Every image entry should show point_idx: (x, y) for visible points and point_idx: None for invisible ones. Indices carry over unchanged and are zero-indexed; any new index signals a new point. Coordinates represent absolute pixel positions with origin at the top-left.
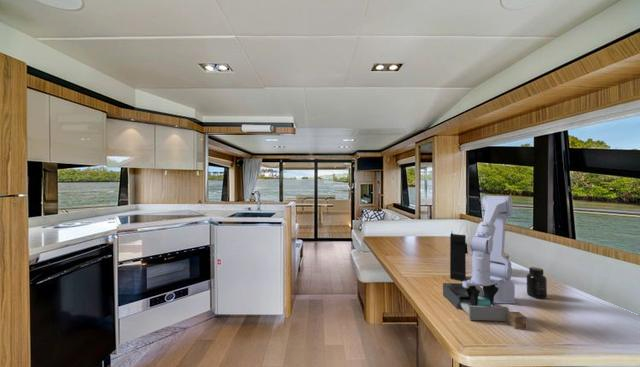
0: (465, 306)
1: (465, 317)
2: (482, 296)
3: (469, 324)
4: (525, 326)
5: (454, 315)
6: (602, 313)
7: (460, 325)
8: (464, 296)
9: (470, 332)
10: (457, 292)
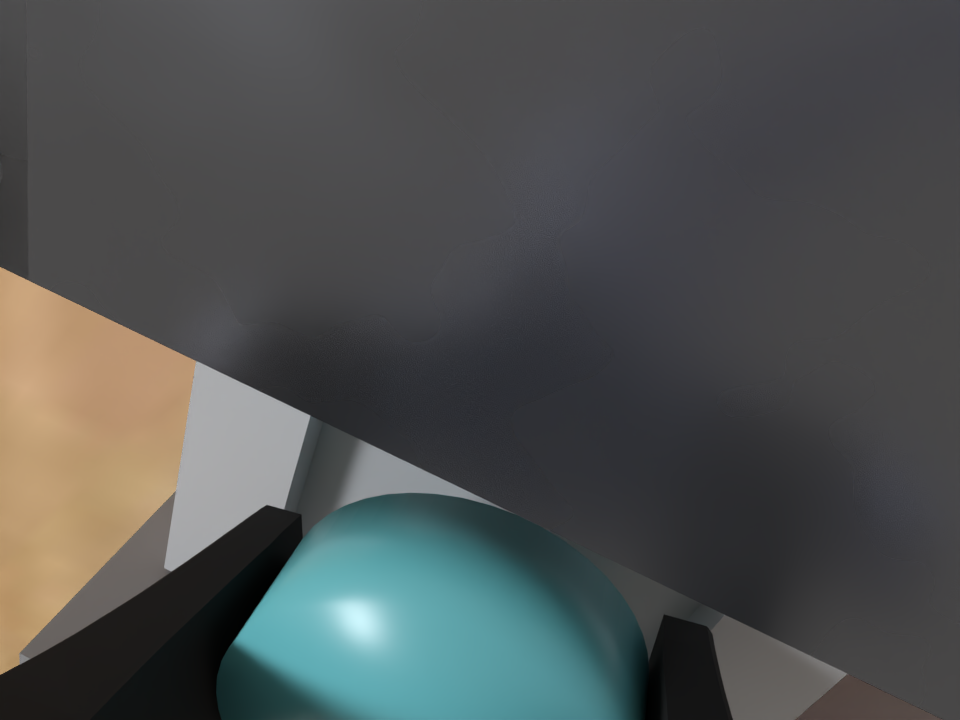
0: (202, 398)
1: (185, 416)
2: (788, 633)
3: (127, 539)
4: None
5: (49, 304)
6: None
7: (8, 503)
8: (213, 338)
9: (47, 615)
10: (79, 41)
